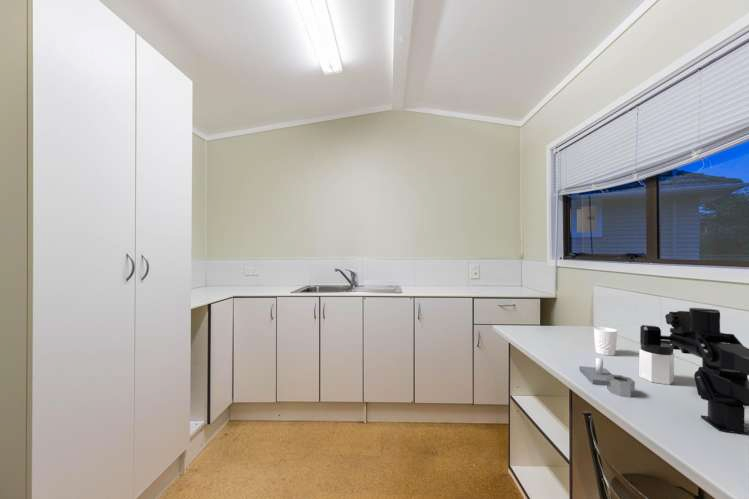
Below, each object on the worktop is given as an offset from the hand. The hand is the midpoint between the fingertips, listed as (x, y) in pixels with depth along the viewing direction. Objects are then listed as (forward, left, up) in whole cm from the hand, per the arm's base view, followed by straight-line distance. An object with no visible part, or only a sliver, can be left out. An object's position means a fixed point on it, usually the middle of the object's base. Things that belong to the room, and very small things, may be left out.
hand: (661, 332), depth 103 cm
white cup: (+30, +4, -17) cm, 34 cm away
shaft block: (0, +18, -17) cm, 24 cm away
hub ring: (-10, +16, -17) cm, 25 cm away
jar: (+4, 0, -17) cm, 17 cm away
